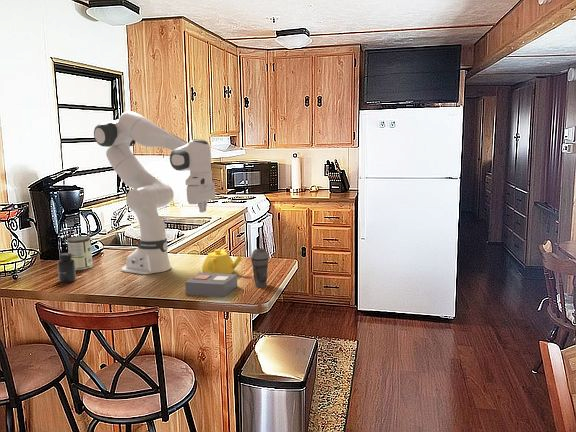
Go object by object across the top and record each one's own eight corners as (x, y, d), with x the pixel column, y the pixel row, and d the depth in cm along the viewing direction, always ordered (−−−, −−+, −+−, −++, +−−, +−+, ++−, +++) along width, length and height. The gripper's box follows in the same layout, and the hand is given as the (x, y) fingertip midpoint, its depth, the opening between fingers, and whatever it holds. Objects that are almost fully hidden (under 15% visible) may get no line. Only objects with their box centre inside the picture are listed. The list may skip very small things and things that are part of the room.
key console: (185, 294, 204) (185, 282, 203) (201, 283, 217) (200, 272, 216) (224, 297, 200) (223, 284, 199) (237, 286, 213) (236, 274, 212)
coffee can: (70, 265, 251) (68, 236, 249) (93, 263, 254) (91, 235, 252) (68, 271, 242) (65, 241, 239) (92, 268, 244) (89, 239, 242)
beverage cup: (251, 283, 217) (250, 236, 213) (269, 282, 217) (267, 235, 214) (251, 288, 209) (250, 239, 206) (270, 287, 210) (268, 239, 207)
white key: (212, 285, 205) (212, 279, 205) (217, 282, 210) (217, 275, 210) (224, 286, 204) (224, 280, 203) (229, 282, 209) (229, 276, 208)
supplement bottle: (59, 284, 221) (57, 256, 219) (58, 280, 227) (55, 253, 225) (77, 281, 224) (74, 254, 222) (75, 277, 230) (72, 251, 228)
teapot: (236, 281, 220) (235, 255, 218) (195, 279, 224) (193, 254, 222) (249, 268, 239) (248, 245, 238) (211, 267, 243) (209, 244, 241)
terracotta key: (194, 284, 207) (193, 278, 207) (199, 280, 212) (199, 274, 212) (205, 285, 206) (205, 278, 206) (211, 281, 211) (210, 275, 210)
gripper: (204, 176, 228) (206, 208, 230) (183, 181, 208) (185, 215, 210) (218, 176, 226) (219, 208, 228) (197, 181, 206) (199, 216, 209)
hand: (202, 211), depth 219 cm, fingers closed
